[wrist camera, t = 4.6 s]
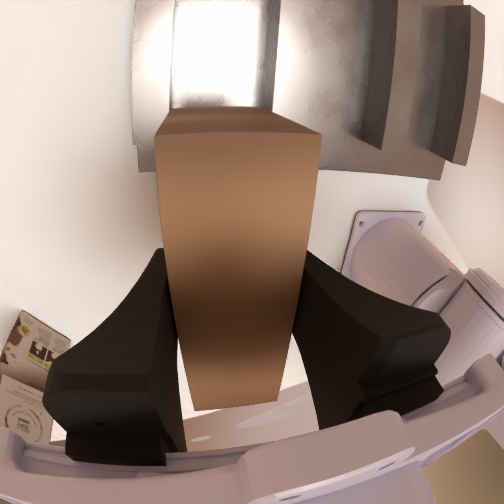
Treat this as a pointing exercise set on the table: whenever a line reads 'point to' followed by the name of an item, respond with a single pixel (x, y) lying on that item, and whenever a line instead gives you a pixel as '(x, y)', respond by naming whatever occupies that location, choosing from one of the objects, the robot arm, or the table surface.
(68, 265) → the table surface
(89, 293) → the table surface
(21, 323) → the coffee box
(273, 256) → the brown wooden block
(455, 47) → the rack
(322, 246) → the table surface
